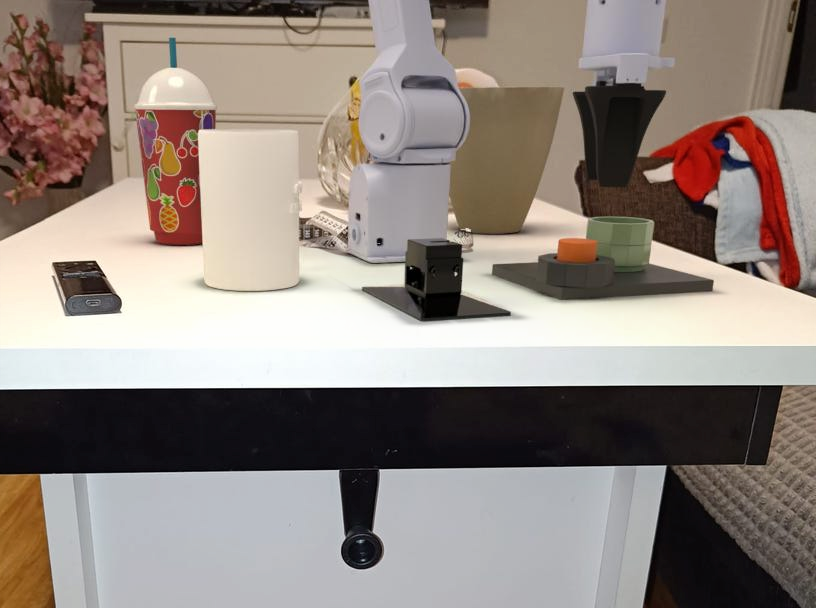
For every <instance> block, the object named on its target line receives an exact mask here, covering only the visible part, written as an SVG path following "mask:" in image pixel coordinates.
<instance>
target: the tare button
mask: <svg viewBox="0 0 816 608" xmlns="http://www.w3.org/2000/svg"><path fill="white" fill-rule="evenodd" d="M597 243H598V242H597V241H596V240H591V239H586V238H579V237H567V238H566V237H565V238H559V239H558V243H557V252H556V253H557V260H561V261H569V262H595V261H596V252H597Z"/></svg>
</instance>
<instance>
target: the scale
mask: <svg viewBox="0 0 816 608" xmlns="http://www.w3.org/2000/svg"><path fill="white" fill-rule="evenodd" d="M614 268H615V260H614V259H613V258H610V257H606V256H601V255H596V261H595V262H569V261H561V260H557V252H553V253H551V252H550V253H545V254H541V255H538V258H537V261H534V262H514V263H513V262H511V263H509V262H508V263H493V264H492V268H491V275H492V276H494V277H497V278H499V279H502V280H505V281H508V282H510V283H513V284H516V285H518V286H521V287H524V288H526V289H530V290H532V291H535V292H538V293H540V294H543V295H546V296H549V297H552V298H554V299H556V300H560V301H570V300H571V301H572V300H587V299H589V300H590V299H605V298H623V297H624V298H625V297H640V296H641V297H642V296H657V295H672V294H676V295H677V294H690V293H693V294H694V293H708V292H710V293H711V292H713V290H714V283H715V280H714V279H711V278H707V277H704V276H700V275H696V274H693V273H688V272H684V271H681V270H677V269H673V268H668V267H665V266H661V265H657V264H653V263H649V264H647V265H645V269H644V270H642V271H637V272H614Z"/></svg>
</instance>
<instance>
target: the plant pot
mask: <svg viewBox="0 0 816 608" xmlns="http://www.w3.org/2000/svg"><path fill="white" fill-rule="evenodd" d="M459 90H460V92H461V93H462V95H463V97H464V98H465V100H466V102H467V105H468V108H469V113H470V126H469V131H468V134H467V137H466V139H465V141H464V143H463V144H462V146H461V147H460V148H459V149H458V150H457V151H456V155H455V161H451V162H447V163H450V164H451V170H450V189H449V201H450V202H451V207H452V211H453V213H454V218H455V220H456V224H457V227H458V229H459V230H460V231H461V229H465V228H469V229H471V232H472V233H471V234H484V235H486V234H487V235H494V234H495V235H496V234H497V235H498V234H502V235H503V234H513V233H517V232H520V231H521V230H522V228H523V227H524V224H525V221H526V219H527V217H528V214H529V211H530V209H531V207H532V204H533V202H534V199H535V197H536V194H537V191H538V189H539V186H540V183H541V180H542V177H543V174H544V171H545V169H546V168H545V167H546V165H547V162H548V158H549V155H550V152H551V148H552V144H553V141H554V137H555V133H556V128H557V125H558V121H559V116H560V111H561V106H562V102H563V101H562V100H563V96H564V92H565V87H564V86H493V87H492V86H484V87H478V86H476V87H475V86H474V87H473V86H471V87H470V86H469V87H459Z"/></svg>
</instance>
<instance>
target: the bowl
mask: <svg viewBox="0 0 816 608" xmlns="http://www.w3.org/2000/svg"><path fill="white" fill-rule="evenodd" d="M654 229H655V221H654V220H653V219H648V218H642V217H630V216H593V217H588V218H587V224H586V233H585V239H591V240H596V241H597V242H598V243H597V252H596V255H601V256H606V257H610V258H613V259H614V260H615V268H614V272H637V271H642V270H644V269H645V265H647V264H650V260H651V259H650V258H651V251H652V243H653V238H654V237H653V236H654Z"/></svg>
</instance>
